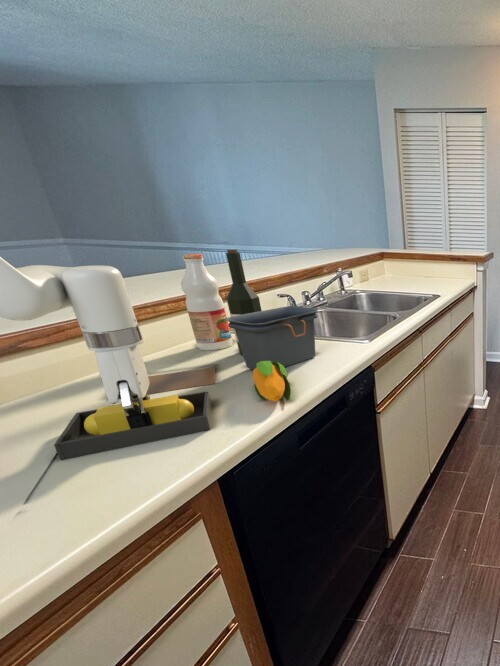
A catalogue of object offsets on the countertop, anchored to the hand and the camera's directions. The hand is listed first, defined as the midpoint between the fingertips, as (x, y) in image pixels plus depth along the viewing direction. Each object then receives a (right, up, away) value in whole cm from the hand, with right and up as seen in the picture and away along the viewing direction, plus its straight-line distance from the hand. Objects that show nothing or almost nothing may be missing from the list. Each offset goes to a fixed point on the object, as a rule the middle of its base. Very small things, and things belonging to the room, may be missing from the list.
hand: (145, 426), depth 82 cm
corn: (+16, +5, +17) cm, 24 cm away
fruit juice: (-22, +20, +51) cm, 59 cm away
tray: (0, -1, 0) cm, 1 cm away
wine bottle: (-7, +18, +47) cm, 51 cm away
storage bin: (+7, +14, +38) cm, 41 cm away
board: (-14, +8, +23) cm, 28 cm away
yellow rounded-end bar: (0, 0, 0) cm, 0 cm away
